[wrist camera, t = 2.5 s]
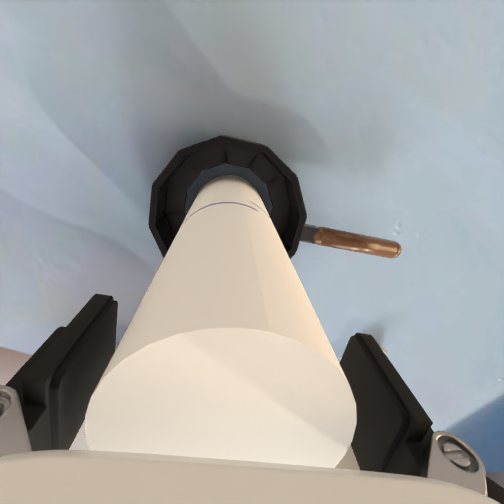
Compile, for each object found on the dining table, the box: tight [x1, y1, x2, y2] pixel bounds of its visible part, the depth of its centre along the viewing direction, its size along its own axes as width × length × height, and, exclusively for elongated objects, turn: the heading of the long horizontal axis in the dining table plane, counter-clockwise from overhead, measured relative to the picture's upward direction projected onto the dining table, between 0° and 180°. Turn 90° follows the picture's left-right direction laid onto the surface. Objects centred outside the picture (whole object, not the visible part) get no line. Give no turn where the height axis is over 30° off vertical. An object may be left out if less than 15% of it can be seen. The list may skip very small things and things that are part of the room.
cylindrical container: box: [85, 175, 357, 468], centre depth 19 cm, size 7×7×25 cm
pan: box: [149, 135, 401, 259], centre depth 29 cm, size 14×25×4 cm, turn 78°
